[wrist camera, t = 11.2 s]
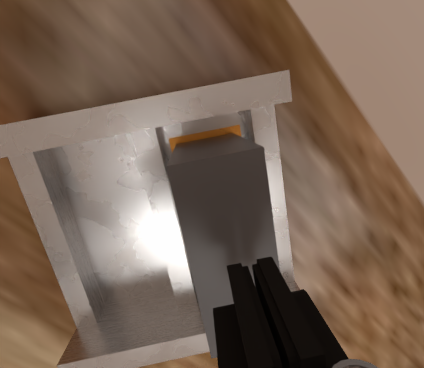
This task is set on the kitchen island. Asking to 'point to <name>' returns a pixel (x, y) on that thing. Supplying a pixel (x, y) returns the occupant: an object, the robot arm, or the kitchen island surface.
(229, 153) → the panel
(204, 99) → the rack
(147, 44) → the kitchen island surface
